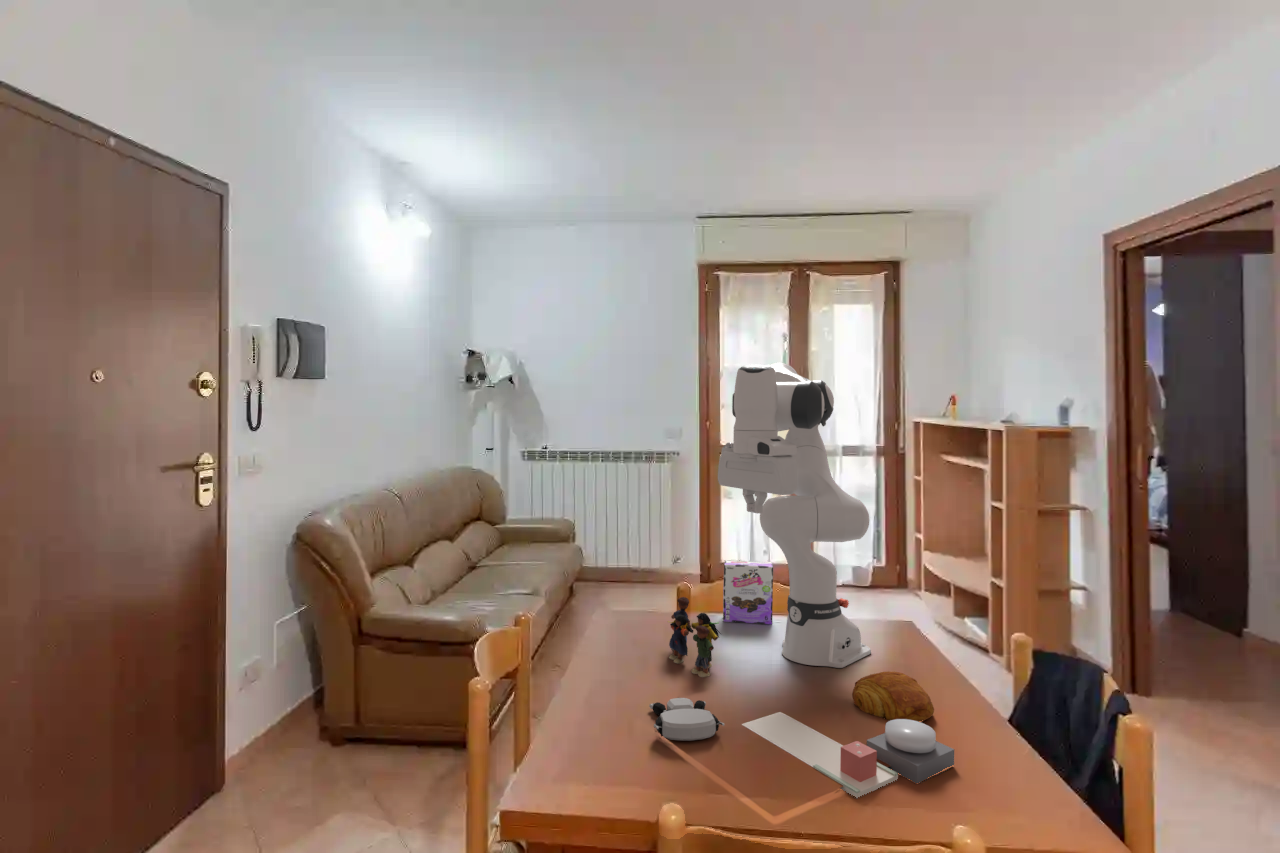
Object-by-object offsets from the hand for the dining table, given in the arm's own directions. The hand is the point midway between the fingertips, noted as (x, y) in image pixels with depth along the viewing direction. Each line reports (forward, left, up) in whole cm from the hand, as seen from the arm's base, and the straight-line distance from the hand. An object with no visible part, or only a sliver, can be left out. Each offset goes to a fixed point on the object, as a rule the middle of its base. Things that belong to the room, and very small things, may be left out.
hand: (754, 512), depth 139 cm
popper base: (-7, +32, -39) cm, 51 cm away
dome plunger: (-7, +32, -38) cm, 50 cm away
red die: (+4, +31, -38) cm, 49 cm away
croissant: (-22, +18, -40) cm, 48 cm away
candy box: (-35, -41, -39) cm, 67 cm away
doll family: (-3, -25, -39) cm, 47 cm away
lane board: (+6, +21, -39) cm, 45 cm away
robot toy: (+19, +2, -40) cm, 44 cm away
